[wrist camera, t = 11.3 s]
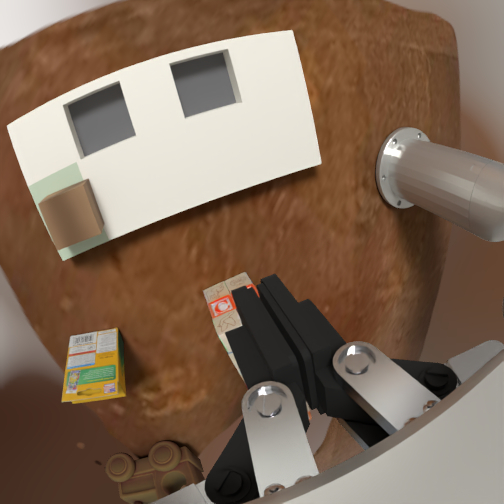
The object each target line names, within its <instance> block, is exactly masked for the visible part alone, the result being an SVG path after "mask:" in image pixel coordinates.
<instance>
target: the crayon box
mask: <svg viewBox="0 0 504 504" xmlns="http://www.w3.org/2000/svg"><path fill="white" fill-rule="evenodd" d="M123 396H126V387H125V372H124V342H123V340H122V337H121V334H120V332H119V329H118V328H113V329H108V330H103V331H98V332H92V333H86V334H81V335H76V336H71V337H70V343H69V349H68V355H67V362H66V370H65V377H64V386H63V394H62V402H68V401H71V402H72V403H73V404H75V403H82V402H90V401H97V400H104V399H110V398H117V397H123Z"/></svg>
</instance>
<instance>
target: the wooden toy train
mask: <svg viewBox="0 0 504 504" xmlns="http://www.w3.org/2000/svg"><path fill="white" fill-rule="evenodd" d="M105 472H106V473H107V474H108V476H109V477H110V478H111V479H112V480H113V481H116V482H118V486H119V493H120V497H121V498H122V499H123V500H125V501H126V502H128V503H130V504H150V503H152V502H155V501H157V500H159V499H161V498H164V497H166V496H168V495H170V494H172V493H175V492H177V491H179V490H180V489H181V487H182V486H183V485H186V487H187V486H189V485H191V484H193V483H194V484H195V485H197V484H198V483H200V482H202V481H204V480H205V479H204V477H203V475H202V473H201V472H203V468H202V465H201V462H200V459H199V458H198V457H197V456H195V455H194V454H193V453H192V452H191V451H190V450H189V449H188V448H187V447H185V446H184V447H181V448H179V446H178V445H177V444H176V443H174V442H172V441H160V442H158V443H156V444H155V445H154V446H152V448H151V449H150V451H149V454H148V457H146V458H143V459H139V460H135V461H134V460H133V458H132V457H131V456H130V455H128V454H126V453H116V454H114V455H112V456H111V457H110V458H109V459H108V461H107V463H106V467H105Z"/></svg>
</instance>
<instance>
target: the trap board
mask: <svg viewBox="0 0 504 504" xmlns="http://www.w3.org/2000/svg"><path fill="white" fill-rule="evenodd" d="M7 128H8V132H9V135H10V138H11V141H12V144H13V147H14V150H15V153H16V156H17V159H18V161H19V164H20V167H21V169H22V172H23V175H24V177H25V180H26V182H27V185H28V187H29V190H30V192H31V195H32V197H33V199H34V202H35V204H36V206H37V209H38V211H39V213H40V215H41V217H42V220H43V222H44V224H45V226H46V228H47V225H46V223H45V221H44V218H43V216H42V213H41V211H40V208H39V205H38V204H39V203H40V202H41V201H42V200H43V199H44V198H45V197H46V196H47V195H50V194H52V193H54V192H57V191H59V190H61V189H64V188H66V187H68V186H71V185H73V184H76V183H78V182H81V181H83V180H86V179H88V178H89V181H90V184H91V187H92V190H93V193H94V196H95V199H96V201H97V204H98V207H99V210H100V212H101V215H102V218H103V220H104V227H103V230H102V233H101V234H100V235H97V236H94V237H92V238H89V239H86V240H84V241H81V242H78V243H76V244H73V245H71V246H68V247H66V248H63V249H61V250H58V252H59V254H60V256H61V258H62V260H63V261H64V260H66V259H68V258H71V257H73V256H75V255H77V254H80V253H82V252H84V251H86V250H89V249H91V248H93V247H95V246H98V245H100V244H102V243H105V242H107V241H109V240H112V239H114V238H117V237H119V236H121V235H124V234H126V233H129V232H131V231H134V230H136V229H138V228H141V227H143V226H146V225H148V224H151V223H153V222H156V221H158V220H161V219H164V218H166V217H169V216H171V215H174V214H176V213H179V212H182V211H184V210H187V209H190V208H192V207H195V206H198V205H200V204H203V203H206V202H209V201H211V200H214V199H217V198H220V197H222V196H225V195H228V194H231V193H234V192H237V191H239V190H242V189H245V188H248V187H251V186H254V185H257V184H260V183H263V182H266V181H269V180H272V179H275V178H278V177H281V176H284V175H287V174H290V173H293V172H297V171H300V170H303V169H306V168H309V167H313V166H316V165H319V164H321V158H320V152H319V147H318V141H317V136H316V131H315V126H314V121H313V116H312V111H311V106H310V101H309V97H308V92H307V88H306V83H305V79H304V75H303V70H302V66H301V62H300V58H299V54H298V50H297V46H296V42H295V38H294V35H293V31H292V30H289V31H280V32H272V33H264V34H257V35H251V36H245V37H239V38H234V39H228V40H223V41H218V42H214V43H209V44H205V45H201V46H197V47H192V48H189V49H185V50H181V51H177V52H174V53H170V54H167V55H163V56H160V57H157V58H154V59H151V60H147V61H144V62H141V63H138V64H136V65H133V66H130V67H127V68H124V69H122V70H119V71H116V72H114V73H111V74H109V75H106V76H104V77H101V78H99V79H96V80H94V81H92V82H89V83H87V84H85V85H83V86H80V87H78V88H76V89H74V90H72V91H70V92H67V93H65V94H63V95H61V96H59V97H57V98H55V99H53V100H51V101H49V102H47V103H46V104H44V105H42V106H40V107H38V108H36V109H34V110H33V111H31V112H29V113H27V114H26V115H24V116H22V117H21V118H19V119H17V120H15V121H14V122H12V123H11V124H9V125H7ZM47 230H48V228H47ZM48 232H49V230H48ZM49 234H50V233H49ZM50 236H51V235H50ZM51 238H52V237H51ZM52 240H53V239H52Z"/></svg>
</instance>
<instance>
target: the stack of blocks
mask: <svg viewBox="0 0 504 504" xmlns="http://www.w3.org/2000/svg"><path fill="white" fill-rule="evenodd" d="M245 285H246V287H247V288H251V287H253V288H254V290H255V292H256V293H257V295H258V296H259V294H258V290H257V289H256V287H255V286H254V284H253V283H252V281H251V280H250V278H249V277H248V275H247V274H246V272H244V273H241V274H239V275H237V276H234V277H232V278H230V279H228V280H226V281H223V282H221V283H218V284H216V285H214V286H212V287H210V288H208V289H206V290H204V291H203V293H204V296H205V298H206V301H207V305H208V308H209V310H210V313H211V316H212V318H213V320H212V321H213V324H214V327H215V329H216V332H217V334H218V337H219V339H220V340H221V342H222V344H223V345H224V347H225V349H226V351H227V353H228V355H229V357H230V359H231V360H232V362H233V364H234V365H235V367H236V369H237V371H238V373H239V374H240V376H241V377H242V374H241V372H240V369H239V367H238V365H237V362H236V360H235V357H234V355H233V352H232V350H231V347H230V345H229V342H228V340H227V337H226V335H225V332H227V331H230V330H232V329H235V328H238V327H240V326H243V325H242V323H241V320H240V317H239V314H238V311H237V308H236V305H235V302H234V299H233V296H232V293H231V290H234V289H237V288H239V287H242V286H245ZM242 379H243V377H242ZM243 381H244V379H243ZM244 382H245V381H244ZM245 385H246V384H245ZM246 387H247V386H246ZM306 405H307V410H308V418H309V420H311V419H312V416H311V413H310V409H309V406H308V404H307V402H306Z"/></svg>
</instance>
